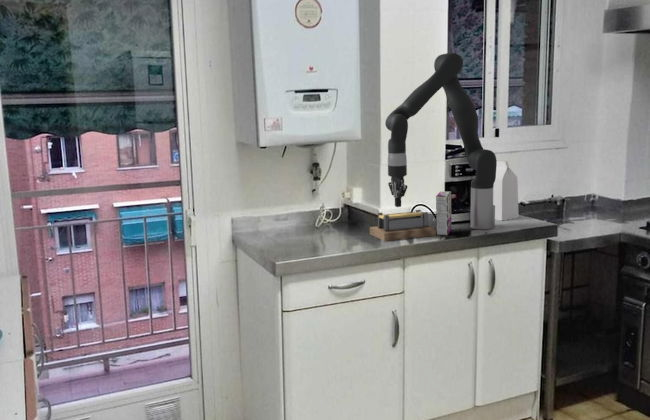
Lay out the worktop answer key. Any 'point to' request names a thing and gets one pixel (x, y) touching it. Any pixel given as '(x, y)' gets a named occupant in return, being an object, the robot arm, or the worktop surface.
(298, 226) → the worktop surface
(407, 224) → the block
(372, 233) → the walnut board
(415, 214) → the strip
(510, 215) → the milk
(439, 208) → the candy bar box
